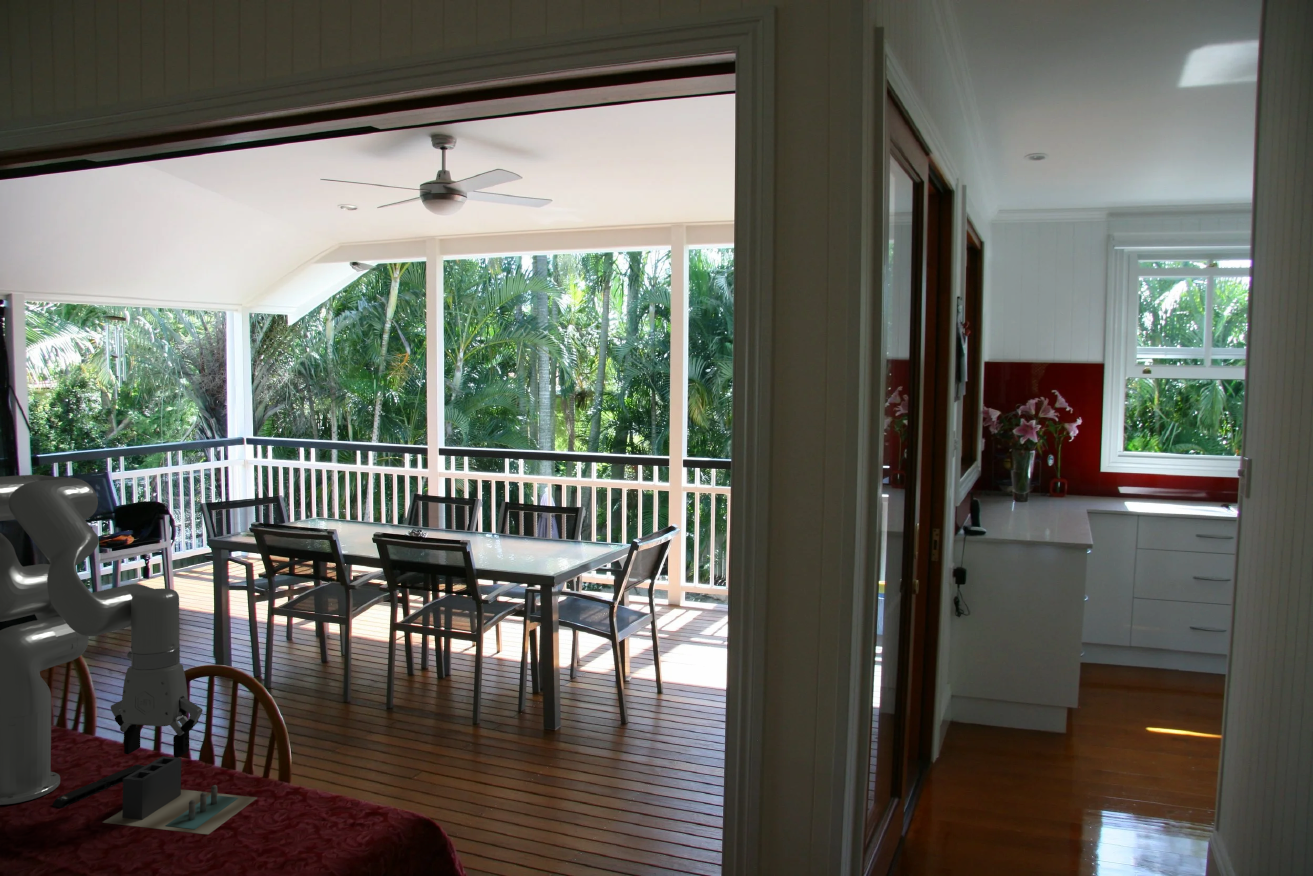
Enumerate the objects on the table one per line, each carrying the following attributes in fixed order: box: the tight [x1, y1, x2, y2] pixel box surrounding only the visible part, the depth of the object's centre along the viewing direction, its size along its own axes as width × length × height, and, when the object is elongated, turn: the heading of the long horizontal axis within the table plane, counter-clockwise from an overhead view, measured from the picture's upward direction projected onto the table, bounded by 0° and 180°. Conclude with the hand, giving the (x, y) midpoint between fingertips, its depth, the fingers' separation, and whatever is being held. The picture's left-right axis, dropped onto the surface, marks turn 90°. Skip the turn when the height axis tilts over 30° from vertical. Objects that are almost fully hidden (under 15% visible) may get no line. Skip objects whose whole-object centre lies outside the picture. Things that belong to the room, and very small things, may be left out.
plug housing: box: [122, 755, 182, 820], centre depth 154 cm, size 10×4×7 cm, turn 172°
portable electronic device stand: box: [52, 763, 145, 809], centre depth 161 cm, size 18×3×3 cm, turn 160°
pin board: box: [102, 784, 258, 835], centre depth 153 cm, size 20×14×5 cm
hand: (156, 753), depth 154 cm, fingers open, 9 cm apart
